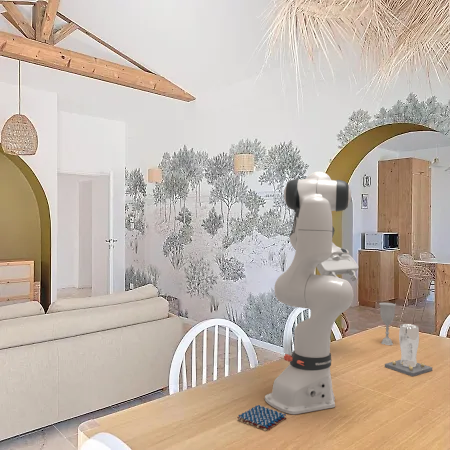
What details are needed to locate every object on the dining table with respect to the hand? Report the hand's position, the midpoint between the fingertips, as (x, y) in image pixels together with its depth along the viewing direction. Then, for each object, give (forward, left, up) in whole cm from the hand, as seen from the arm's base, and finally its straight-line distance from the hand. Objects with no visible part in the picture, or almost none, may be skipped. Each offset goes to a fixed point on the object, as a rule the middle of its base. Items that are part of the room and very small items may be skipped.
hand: (347, 281), depth 179 cm
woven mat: (-63, -25, -32) cm, 75 cm away
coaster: (+10, -21, -31) cm, 39 cm away
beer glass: (+10, -21, -30) cm, 38 cm away
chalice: (+32, +5, -32) cm, 45 cm away
